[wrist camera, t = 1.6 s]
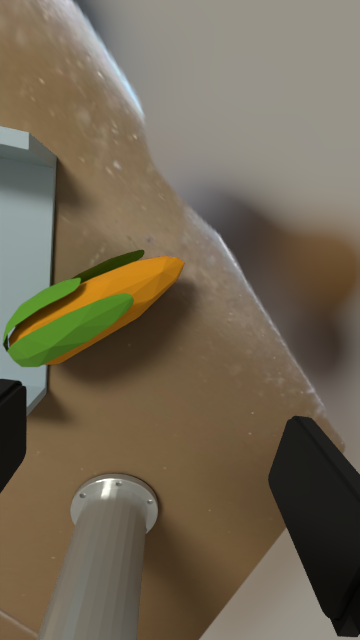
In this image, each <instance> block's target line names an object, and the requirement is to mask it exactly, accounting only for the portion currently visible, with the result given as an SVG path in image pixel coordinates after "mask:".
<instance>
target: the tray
mask: <svg viewBox="0 0 360 640" xmlns="http://www.w3.org/2000/svg"><path fill="white" fill-rule="evenodd" d="M56 163H57V156H56V155H55V154H53V153H52V152H51V151H50V150H49V149H48V148H46V147H45V146H44V145H43V144H42V143H40V142H39V141H38V140H37V139H36V138H35V137H33V136H32V135H31V134H30V133H28V132H24V131H19V130H15V129H10V128H6V127H1V126H0V379H10V380H18V381H21V382H22V386H26V389H27V414H26V417H27V416H28V415H29V414H30V412H31V411H32V410H33V409H34V408H35V407H36V405H37V404H38V403H39V402H40V401H41V400H42V398H43V397H44V396H45V395H46V392H47V369H48V365H42V366H40V367H21V366H20V365H18V364H17V363H16V362H15V361H13V360H12V358H11V357H10V355H9V353H8V352H6V350H5V348H4V346H3V336H4V332H5V328H6V325H7V323H8V321H9V320H10V319H11V317H12V316H13V314H14V313H15V311H16V310H17V309H18V308H19V306H20V305H21V304H23V303H24V302H26V301H27V300H29V299H30V298H32V297H33V296H35V295H36V294H38V293H39V292H41V291H42V290H44V289H46V288H48V287H51V278H52V255H53V232H54V209H55V186H56ZM14 328H15V327H14ZM14 328H13V329H12V330H11V331H10V332H9V333H8V338H9V337H10V335H11V333H12V332H13V330H14ZM8 347H9V340H8Z"/></svg>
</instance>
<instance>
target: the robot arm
mask: <svg viewBox="0 0 360 640" xmlns="http://www.w3.org/2000/svg"><path fill="white" fill-rule="evenodd" d="M26 414H27V389H26V386H22V382H21V381H18V380H10V379H0V493H1V492H2V490H3V489H4V487H5V486H6V484H7V483H8V482H9V480H10V479H11V477H12V476H13V474H14V473H15V471H16V470H17V469H18V467H19V466H20V464H21V463H22V461H23V459H24V457H25V454H26ZM268 481H269V486H270V489H271V491H272V494H273V496H274V498H275V501H276V503H277V505H278V508H279V510H280V512H281V515H282V517H283V519H284V522H285V524H286V527H287V529H288V531H289V534H290V536H291V538H292V541H293V543H294V545H295V548H296V550H297V552H298V555H299V557H300V559H301V562H302V564H303V566H304V569H305V571H306V574H307V576H308V578H309V581H310V583H311V585H312V588H313V590H314V592H315V595H316V597H317V600H318V602H319V604H320V607H321V609H322V611H323V612H324V614H325V615H326V616H327V617H328V618H330V620H331V622H332V624H333V627H334V629H335V631H336V633H337V636H344V637H358V635H359V634H360V474H359V473H358V472H357V471H356V470H355V469H354V467H353V466H352V465H351V464H350V463H349V461H348V460H347V459H346V458H345V457H344V455H343V454H342V453H341V452H340V451H339V450H338V448H337V447H336V446H335V445H334V444H333V443H332V441H331V440H330V439H329V438H328V437H327V435H326V434H325V433H324V432H323V431H322V430H321V428H320V427H319V426H318V425H317V424H316V423H315V421H314V420H313V419H312V418H309V417H302V416H293V417H292V419H289V420H288V421H287V423H286V426H285V429H284V432H283V435H282V438H281V441H280V444H279V447H278V450H277V453H276V456H275V458H274V461H273V464H272V467H271V470H270V473H269V478H268ZM70 513H71V518H72V520H73V523H74V525H75V529H74V532H73V534H72V537H71V540H70V543H69V546H68V549H67V552H66V555H65V558H64V561H63V564H62V567H61V570H60V573H59V575H58V578H57V581H56V584H55V587H54V590H53V593H52V596H51V599H50V602H49V605H48V608H47V611H46V614H45V616H44V619H43V622H42V625H41V628H40V631H39V634H38V637H37V640H137V630H138V618H139V606H140V594H141V582H142V570H143V558H144V546H145V534H146V533H148V532H149V530H150V529H151V528H152V527H153V526H154V524H155V522H156V519H157V516H158V501H157V497H156V495H155V493H154V492H153V490H152V489H151V488H150V487H149V486H148V485H147V484H146V483H144V482H143V481H141V480H139V479H137V478H135V477H132V476H129V475H125V474H105V475H101V476H97V477H94V478H92V479H90V480H89V481H87V482H86V483H84V484H83V485H82V486H81V487H80V488H79V489H78V490H77V492H76V494H75V496H74V498H73V501H72V504H71V510H70Z"/></svg>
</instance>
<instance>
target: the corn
mask: <svg viewBox="0 0 360 640" xmlns="http://www.w3.org/2000/svg"><path fill="white" fill-rule="evenodd" d="M143 255H144V250H138V251H134V252H130V253H127V254H124V255H121V256H118V257H114V258H111V259H109V260H107V261H105V262H103V263H101V264H99V265H97V266H95V267H93V268H90V269H88V270H86V271H84V272H82V273H80V274H78V275H77V276H75V277H73V278H72V279H70V280H66V281H62V282H60V283H58V284H55V285H53V286H51V287H48V288H46V289H44V290H42V291H41V292H39V293H38V294H36V295H35V296H33V297H32V298H30V299H29V300H27V301H26V302H24V303H23V304H21V305H20V306H19V308H18V309H17V310H16V311H15V313H14V314H13V316H12V317H11V319H10V320H9V321H8V323H7V325H6V328H5V332H4V336H3V346H4V348H5V350H6V352H8V353H9V355H10V357H11V358H12V360H13V361H15V362H16V363H17V364H18V365H20V366H21V367H40V366H42V365H55V364H59V363H62V362H63V361H65V360H67V359H68V358H70V357H72V356H74V355H75V354H77V353H79V352H80V351H82V350H84V349H86V348H87V347H89V346H91V345H92V344H94V343H96V342H97V341H99V340H101V339H103V338H104V337H106V336H108V335H109V334H111V333H113V332H114V331H116V330H118V329H120V328H121V327H123V326H125V325H126V324H128V323H130V322H131V321H133V320H135V319H137V318H138V317H140V316H141V315H142V314H143V313H144V312H145V311H146V310H147V309H148V308H149V307H150V306H151V305H152V304H153V303H154V302H155V301H156V300H157V299H158V298H159V297H160V296H161V295H162V294H163V293H164V292H165V291H166V290H167V289H168V288H169V287H170V286H171V285H172V284H173V283H174V282H175V281H176V280H177V279H178V277H179V275H180V273H181V271H182V269H183V266H184V262H183V261H182V260H180V259H179V258H175V257H167V256H162V257H156V258H151V259H146V260H141V261H137V260H139V259H140V258H141V257H142V256H143ZM14 327H15V328H14ZM13 328H14V330H13V332H12V333H11V335H10V337H9V338H8V333H9V332H10V331H11V330H12V329H13ZM8 340H9V347H8Z"/></svg>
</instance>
